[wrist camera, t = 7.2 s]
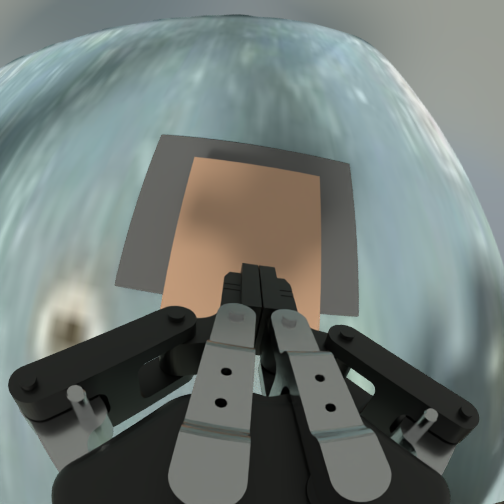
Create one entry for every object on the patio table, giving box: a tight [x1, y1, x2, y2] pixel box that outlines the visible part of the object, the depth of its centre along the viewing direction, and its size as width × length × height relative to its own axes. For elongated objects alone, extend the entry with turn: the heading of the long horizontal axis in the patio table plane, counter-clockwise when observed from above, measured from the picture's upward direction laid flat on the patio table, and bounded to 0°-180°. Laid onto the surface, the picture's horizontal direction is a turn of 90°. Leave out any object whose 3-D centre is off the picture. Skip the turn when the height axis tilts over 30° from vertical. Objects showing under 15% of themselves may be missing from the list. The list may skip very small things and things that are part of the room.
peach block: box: [160, 157, 321, 331], centre depth 21 cm, size 10×4×12 cm
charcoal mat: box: [115, 135, 359, 317], centre depth 25 cm, size 20×16×1 cm
